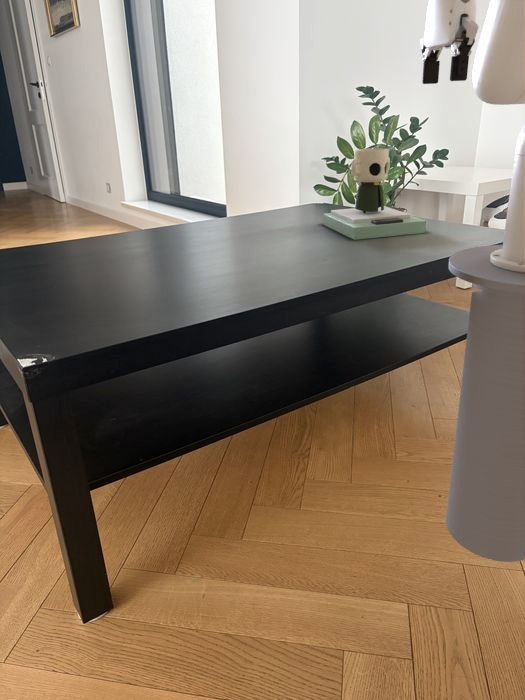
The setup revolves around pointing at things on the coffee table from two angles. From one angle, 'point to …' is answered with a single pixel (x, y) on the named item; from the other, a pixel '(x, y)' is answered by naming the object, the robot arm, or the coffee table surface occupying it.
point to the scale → (373, 223)
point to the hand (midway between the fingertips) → (443, 82)
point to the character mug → (370, 177)
